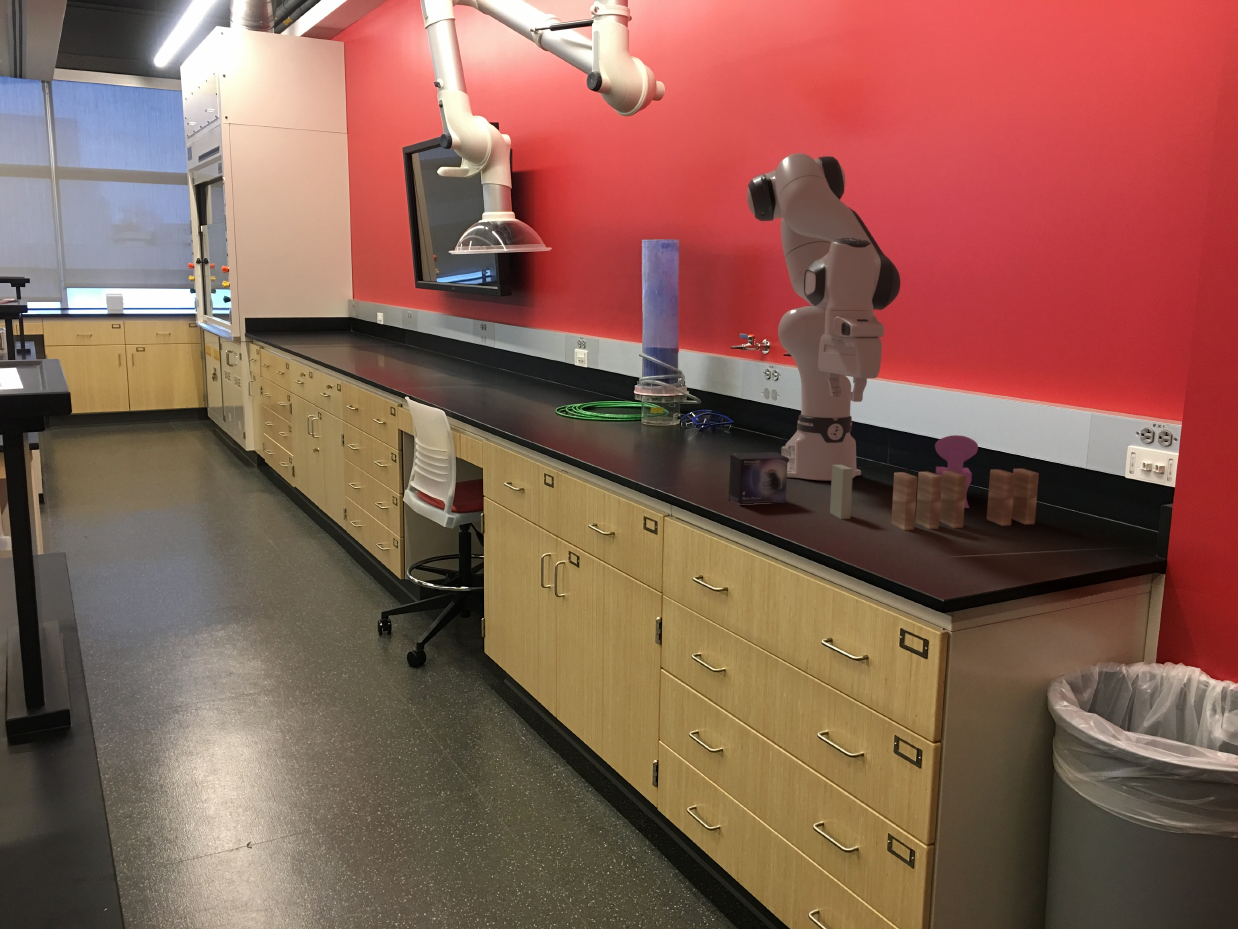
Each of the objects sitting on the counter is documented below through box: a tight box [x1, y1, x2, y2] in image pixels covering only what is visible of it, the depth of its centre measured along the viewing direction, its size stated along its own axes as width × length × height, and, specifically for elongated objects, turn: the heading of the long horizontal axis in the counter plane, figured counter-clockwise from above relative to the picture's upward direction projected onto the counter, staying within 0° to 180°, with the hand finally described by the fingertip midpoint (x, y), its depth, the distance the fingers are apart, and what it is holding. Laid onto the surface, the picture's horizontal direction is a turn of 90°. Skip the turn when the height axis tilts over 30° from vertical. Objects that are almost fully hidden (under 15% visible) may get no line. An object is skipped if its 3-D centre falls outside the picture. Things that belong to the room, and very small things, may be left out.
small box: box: [728, 451, 788, 504], centre depth 203 cm, size 11×6×10 cm, turn 106°
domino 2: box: [890, 471, 918, 531], centre depth 184 cm, size 2×5×10 cm, turn 12°
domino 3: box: [915, 471, 942, 530], centre depth 185 cm, size 2×5×10 cm, turn 12°
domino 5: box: [986, 468, 1015, 527], centre depth 188 cm, size 2×5×10 cm, turn 12°
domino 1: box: [829, 465, 853, 520], centre depth 192 cm, size 2×5×10 cm, turn 12°
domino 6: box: [1012, 468, 1040, 525], centre depth 189 cm, size 2×5×10 cm, turn 12°
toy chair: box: [934, 435, 979, 509], centre depth 204 cm, size 8×9×15 cm
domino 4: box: [939, 471, 967, 529], centre depth 186 cm, size 2×5×10 cm, turn 12°
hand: (845, 398), depth 189 cm, fingers open, 8 cm apart
